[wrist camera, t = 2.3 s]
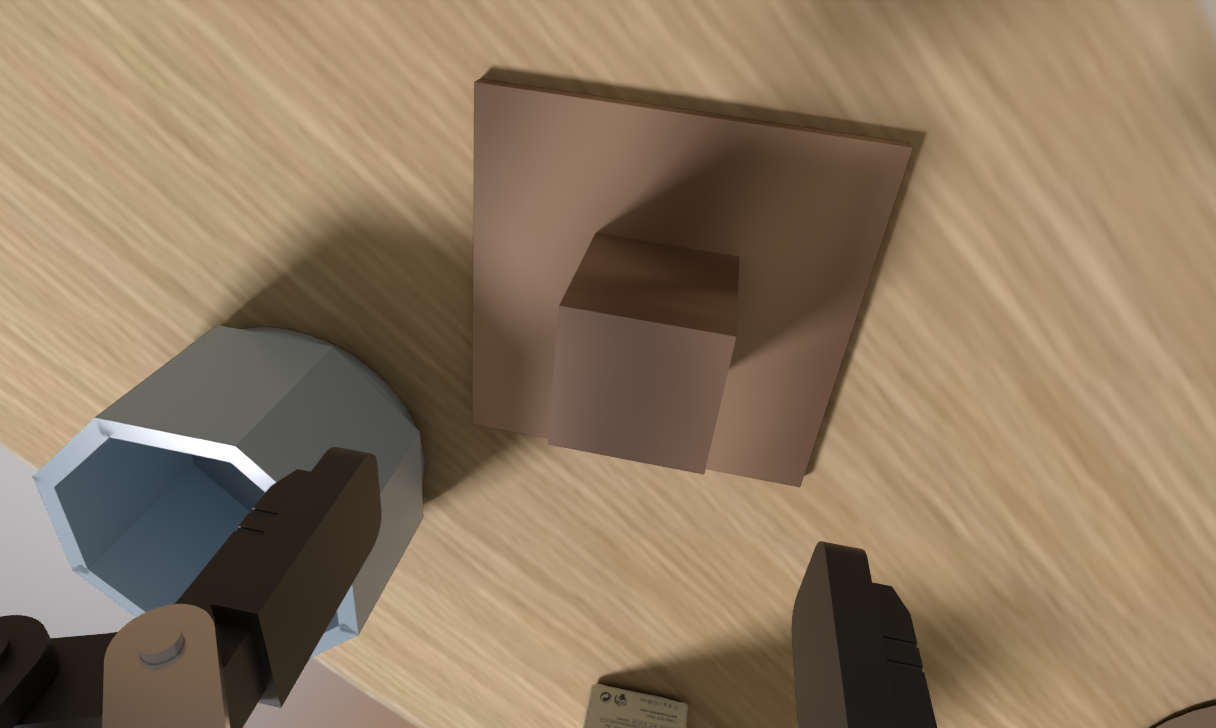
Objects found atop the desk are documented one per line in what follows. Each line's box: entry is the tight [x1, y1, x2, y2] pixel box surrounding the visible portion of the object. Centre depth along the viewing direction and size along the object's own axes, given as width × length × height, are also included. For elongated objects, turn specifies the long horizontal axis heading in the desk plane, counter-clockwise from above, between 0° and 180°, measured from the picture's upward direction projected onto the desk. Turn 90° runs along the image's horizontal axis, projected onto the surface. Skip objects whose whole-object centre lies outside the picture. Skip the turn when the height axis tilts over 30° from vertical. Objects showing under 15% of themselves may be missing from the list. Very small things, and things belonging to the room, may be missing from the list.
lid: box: [472, 79, 913, 487], centre depth 19 cm, size 11×11×6 cm
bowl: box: [33, 325, 425, 659], centre depth 24 cm, size 10×10×6 cm
